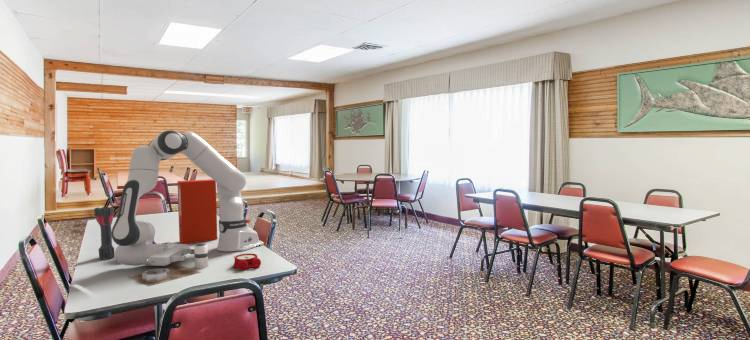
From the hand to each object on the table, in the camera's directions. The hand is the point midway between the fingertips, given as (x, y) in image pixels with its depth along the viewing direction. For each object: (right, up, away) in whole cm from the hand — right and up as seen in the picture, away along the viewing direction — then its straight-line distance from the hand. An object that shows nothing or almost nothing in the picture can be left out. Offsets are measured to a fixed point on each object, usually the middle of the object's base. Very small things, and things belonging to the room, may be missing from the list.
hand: (190, 254), depth 171 cm
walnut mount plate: (-5, -7, -10) cm, 13 cm away
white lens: (+5, -6, 0) cm, 8 cm away
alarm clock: (+22, -6, +4) cm, 23 cm away
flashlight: (-46, -5, +19) cm, 50 cm away
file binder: (-18, -3, +51) cm, 54 cm away
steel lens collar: (-6, -6, -14) cm, 17 cm away
